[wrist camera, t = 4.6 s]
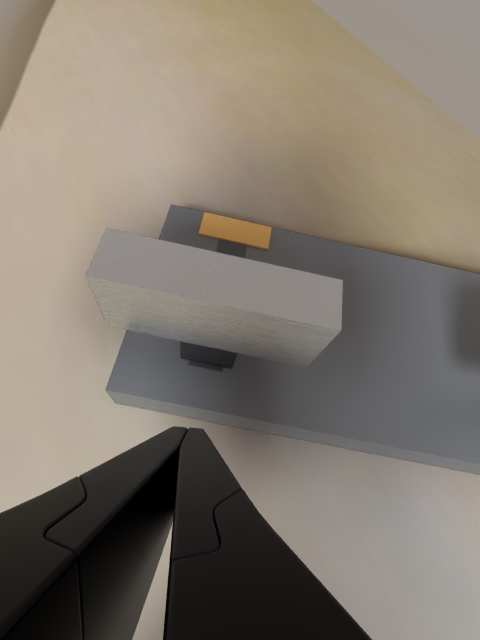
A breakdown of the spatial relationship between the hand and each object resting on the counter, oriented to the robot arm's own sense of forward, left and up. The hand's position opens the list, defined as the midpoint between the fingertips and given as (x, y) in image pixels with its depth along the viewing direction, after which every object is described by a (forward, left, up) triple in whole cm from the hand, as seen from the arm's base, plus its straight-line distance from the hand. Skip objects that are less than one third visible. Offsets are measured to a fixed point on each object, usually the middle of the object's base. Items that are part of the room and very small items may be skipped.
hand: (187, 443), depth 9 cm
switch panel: (0, -14, -13) cm, 19 cm away
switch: (+5, -5, -10) cm, 12 cm away
